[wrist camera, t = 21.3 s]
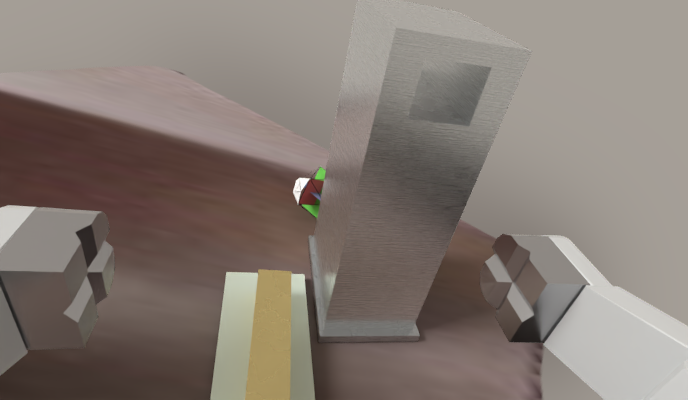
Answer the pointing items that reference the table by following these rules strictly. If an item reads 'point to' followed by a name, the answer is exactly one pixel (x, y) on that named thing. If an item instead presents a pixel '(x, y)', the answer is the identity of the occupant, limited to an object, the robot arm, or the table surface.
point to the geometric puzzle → (310, 191)
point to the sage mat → (239, 332)
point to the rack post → (403, 161)
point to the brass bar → (270, 338)
